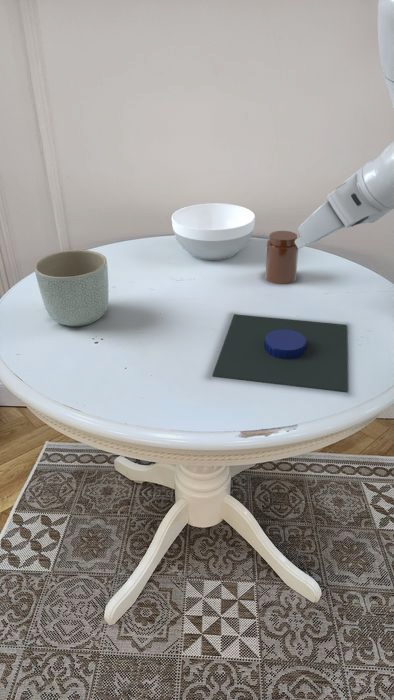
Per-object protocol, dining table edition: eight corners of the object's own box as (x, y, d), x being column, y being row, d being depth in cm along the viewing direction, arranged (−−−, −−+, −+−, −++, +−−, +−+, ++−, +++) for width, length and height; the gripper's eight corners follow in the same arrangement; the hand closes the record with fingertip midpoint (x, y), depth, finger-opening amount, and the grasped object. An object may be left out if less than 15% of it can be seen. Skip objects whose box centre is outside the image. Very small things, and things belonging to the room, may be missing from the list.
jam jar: (294, 272, 114) (298, 229, 109) (297, 285, 109) (301, 241, 103) (264, 272, 114) (266, 229, 109) (265, 285, 109) (268, 240, 104)
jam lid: (261, 356, 85) (262, 347, 84) (267, 335, 91) (267, 327, 90) (303, 361, 84) (304, 352, 83) (307, 340, 89) (308, 331, 88)
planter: (30, 322, 97) (19, 267, 91) (79, 296, 106) (72, 244, 100) (78, 341, 91) (69, 283, 85) (126, 312, 100) (121, 258, 94)
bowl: (172, 269, 117) (170, 231, 112) (173, 238, 132) (172, 203, 128) (258, 267, 117) (259, 229, 112) (249, 237, 133) (250, 202, 128)
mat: (345, 327, 94) (346, 324, 94) (346, 393, 77) (347, 391, 77) (234, 316, 98) (234, 314, 98) (212, 377, 81) (212, 375, 81)
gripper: (384, 168, 98) (330, 210, 108) (327, 193, 85) (272, 237, 96) (403, 197, 97) (347, 236, 108) (348, 226, 85) (291, 267, 95)
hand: (311, 237), depth 102 cm, fingers open, 8 cm apart
